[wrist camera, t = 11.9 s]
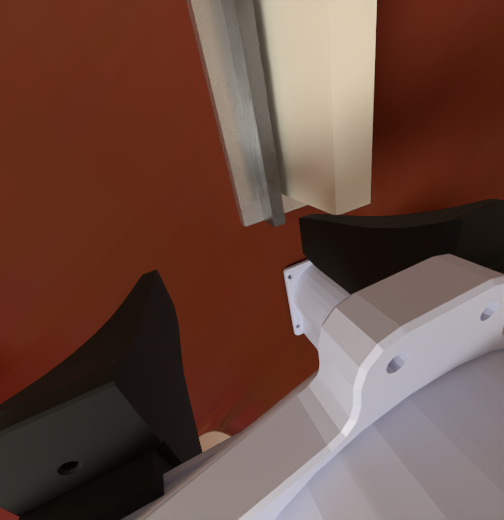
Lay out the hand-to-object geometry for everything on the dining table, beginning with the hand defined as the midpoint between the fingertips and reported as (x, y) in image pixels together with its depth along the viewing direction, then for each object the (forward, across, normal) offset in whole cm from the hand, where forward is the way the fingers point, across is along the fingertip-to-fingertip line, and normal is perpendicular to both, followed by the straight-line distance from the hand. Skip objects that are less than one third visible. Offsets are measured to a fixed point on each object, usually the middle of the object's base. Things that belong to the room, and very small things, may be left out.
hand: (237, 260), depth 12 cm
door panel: (+8, -8, -6) cm, 13 cm away
